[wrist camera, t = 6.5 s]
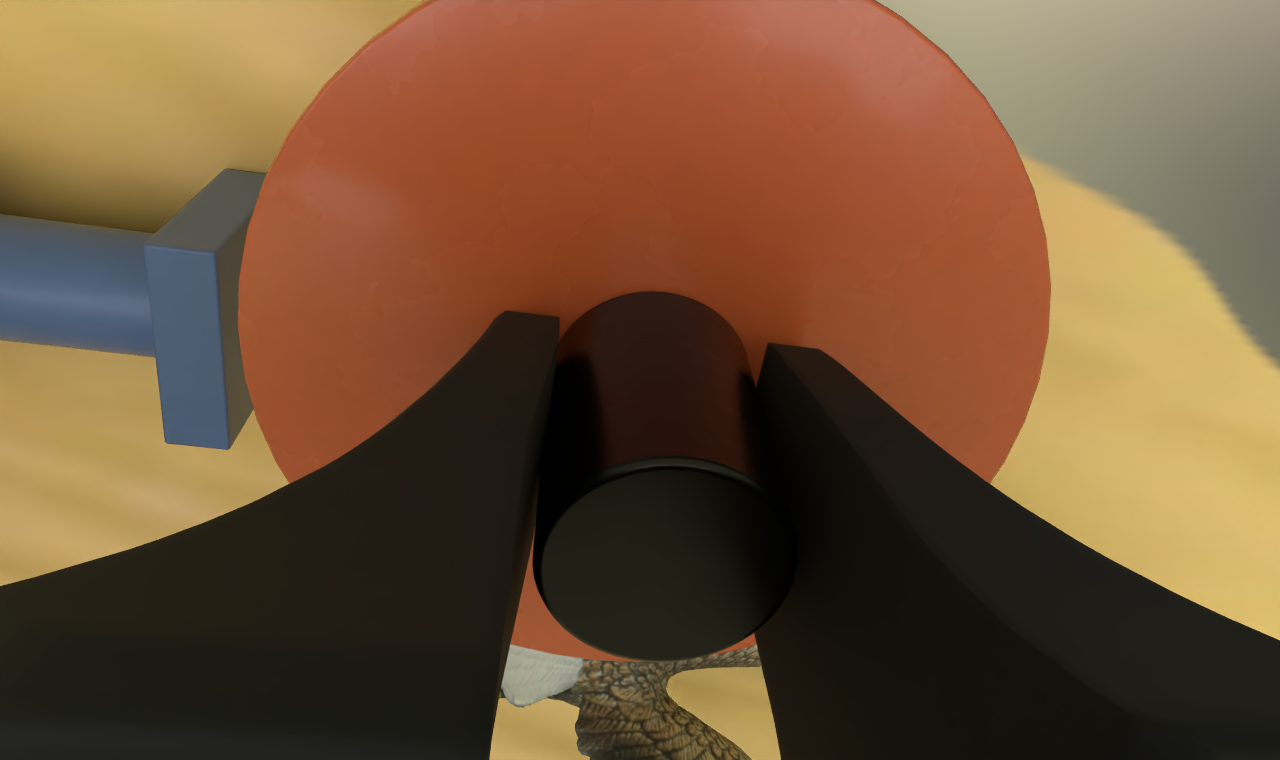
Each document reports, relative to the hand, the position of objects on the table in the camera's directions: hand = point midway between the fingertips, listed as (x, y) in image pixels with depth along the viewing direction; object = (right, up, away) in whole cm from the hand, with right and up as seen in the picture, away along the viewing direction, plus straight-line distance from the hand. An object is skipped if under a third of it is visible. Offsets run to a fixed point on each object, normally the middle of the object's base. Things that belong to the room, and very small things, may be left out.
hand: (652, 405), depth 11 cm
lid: (0, +1, +1) cm, 1 cm away
